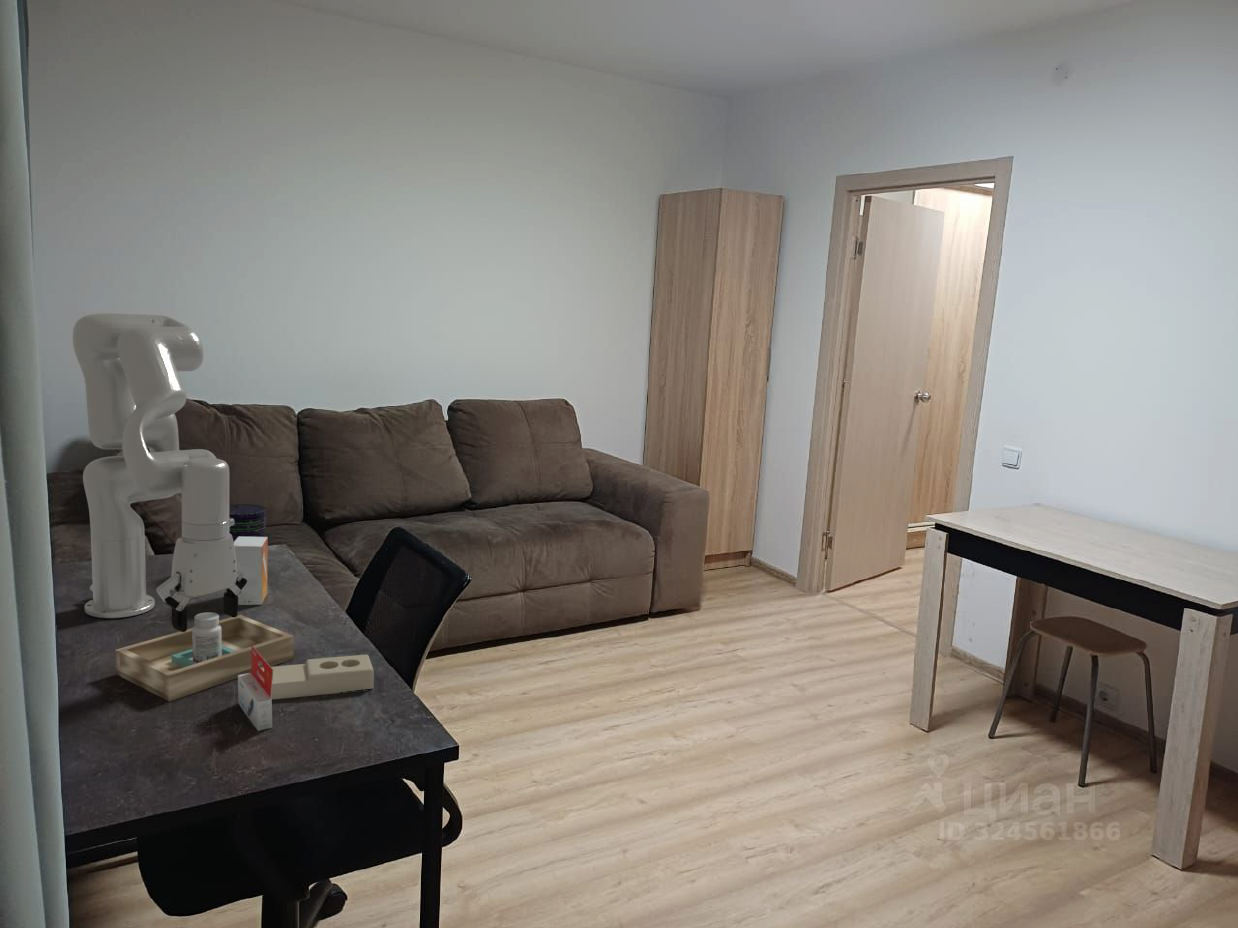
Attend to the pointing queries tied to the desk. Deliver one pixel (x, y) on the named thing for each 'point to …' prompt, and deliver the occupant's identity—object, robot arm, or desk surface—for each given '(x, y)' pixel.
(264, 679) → the ink cartridge box
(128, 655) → the walled box
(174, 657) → the collar
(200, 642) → the pill bottle
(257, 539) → the small box
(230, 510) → the storage jar
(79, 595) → the desk surface
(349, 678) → the beige stepped holder block
